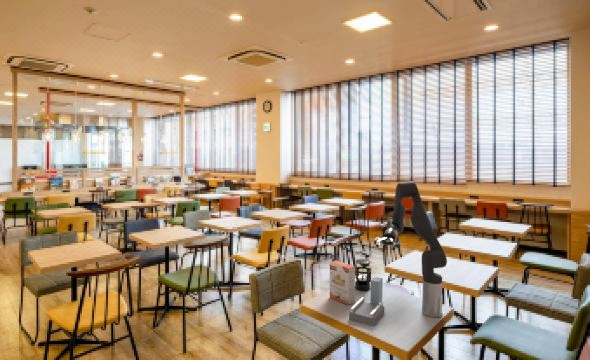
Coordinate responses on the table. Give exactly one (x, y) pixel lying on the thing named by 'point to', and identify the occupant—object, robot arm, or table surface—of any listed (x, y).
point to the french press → (362, 281)
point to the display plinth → (366, 312)
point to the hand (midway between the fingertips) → (384, 247)
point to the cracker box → (342, 282)
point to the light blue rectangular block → (376, 290)
